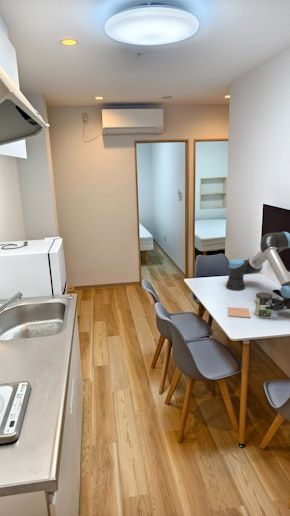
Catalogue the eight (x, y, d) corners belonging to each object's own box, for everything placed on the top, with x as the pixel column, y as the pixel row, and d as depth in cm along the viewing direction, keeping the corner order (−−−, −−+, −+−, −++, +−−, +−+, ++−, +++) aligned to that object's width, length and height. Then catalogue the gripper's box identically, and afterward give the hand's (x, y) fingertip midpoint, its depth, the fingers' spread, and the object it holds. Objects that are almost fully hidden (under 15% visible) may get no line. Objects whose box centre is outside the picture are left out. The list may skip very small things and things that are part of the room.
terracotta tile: (227, 308, 240) (227, 307, 239) (248, 309, 237) (248, 308, 236) (228, 316, 226) (228, 315, 226) (250, 318, 223) (250, 316, 223)
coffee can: (274, 315, 227) (275, 295, 224) (264, 319, 221) (266, 299, 218) (260, 310, 235) (262, 291, 232) (251, 314, 229) (252, 294, 226)
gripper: (297, 315, 217) (262, 316, 216) (283, 302, 238) (251, 303, 238) (299, 304, 215) (263, 305, 214) (283, 292, 237) (251, 292, 236)
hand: (257, 304), depth 226 cm, fingers closed on coffee can, 10 cm apart
